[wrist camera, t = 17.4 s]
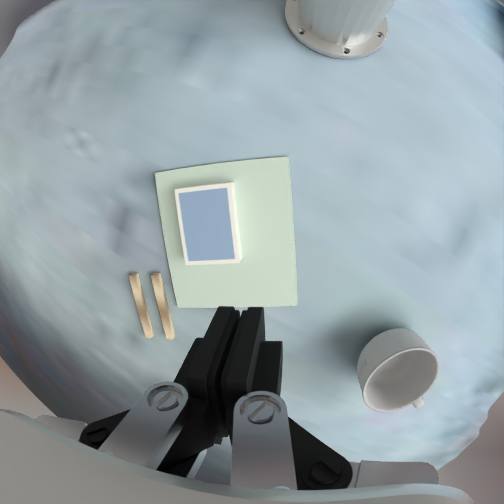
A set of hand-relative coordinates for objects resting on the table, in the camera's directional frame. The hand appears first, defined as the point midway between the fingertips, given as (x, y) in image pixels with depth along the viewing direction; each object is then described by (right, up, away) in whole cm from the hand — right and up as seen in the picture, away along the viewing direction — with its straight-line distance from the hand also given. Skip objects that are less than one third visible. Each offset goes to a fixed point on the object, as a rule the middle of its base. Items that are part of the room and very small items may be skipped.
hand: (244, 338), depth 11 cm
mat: (-3, +5, +23) cm, 24 cm away
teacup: (+21, -12, +26) cm, 35 cm away
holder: (-14, -4, +28) cm, 31 cm away
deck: (-1, +7, +21) cm, 22 cm away
